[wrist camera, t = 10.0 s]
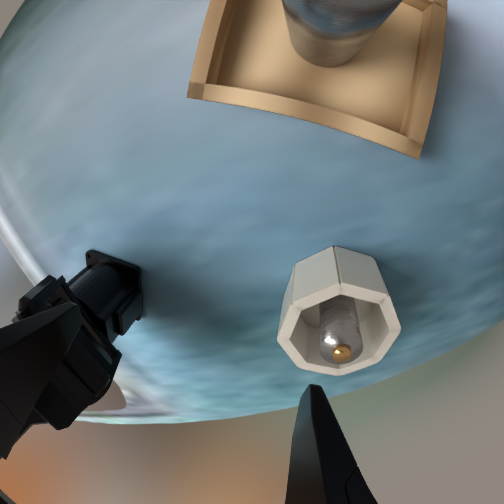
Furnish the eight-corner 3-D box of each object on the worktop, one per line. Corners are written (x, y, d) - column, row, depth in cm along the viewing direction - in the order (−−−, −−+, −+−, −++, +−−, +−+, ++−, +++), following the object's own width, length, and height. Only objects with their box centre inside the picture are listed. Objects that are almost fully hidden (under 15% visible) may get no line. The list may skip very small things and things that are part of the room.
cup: (275, 318, 24) (268, 360, 20) (303, 236, 20) (301, 271, 16) (359, 338, 24) (365, 380, 19) (399, 265, 20) (418, 302, 15)
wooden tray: (203, 100, 17) (186, 97, 14) (240, -37, 11) (230, -56, 9) (405, 154, 16) (421, 161, 14) (433, 13, 11) (450, 1, 8)
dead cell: (314, 309, 22) (313, 365, 17) (326, 281, 21) (330, 335, 15) (345, 317, 22) (352, 373, 16) (359, 289, 20) (371, 344, 15)
